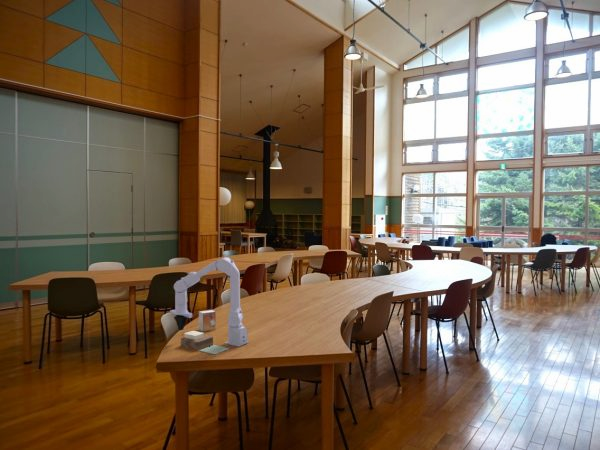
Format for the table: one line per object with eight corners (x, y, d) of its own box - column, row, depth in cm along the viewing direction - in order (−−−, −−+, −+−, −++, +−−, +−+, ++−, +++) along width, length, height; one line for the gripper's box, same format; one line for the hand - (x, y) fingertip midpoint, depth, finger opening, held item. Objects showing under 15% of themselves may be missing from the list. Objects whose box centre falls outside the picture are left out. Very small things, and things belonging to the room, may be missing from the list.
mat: (229, 349, 207) (229, 348, 207) (214, 354, 199) (214, 353, 199) (214, 345, 212) (214, 344, 212) (199, 350, 204) (199, 350, 204)
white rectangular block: (204, 337, 213) (204, 333, 213) (195, 339, 208) (195, 335, 208) (193, 334, 218) (193, 330, 218) (184, 337, 213) (184, 333, 213)
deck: (212, 345, 213) (212, 337, 213) (198, 350, 205) (198, 342, 204) (195, 341, 219) (195, 333, 219) (180, 346, 211) (180, 338, 211)
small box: (202, 332, 237) (202, 313, 237) (198, 329, 241) (198, 311, 241) (215, 329, 242) (215, 311, 241) (211, 327, 246) (211, 309, 246)
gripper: (196, 303, 217) (196, 330, 218) (177, 300, 225) (177, 325, 225) (186, 306, 211) (186, 333, 212) (166, 302, 219) (166, 328, 219)
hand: (180, 329), depth 218 cm, fingers closed
